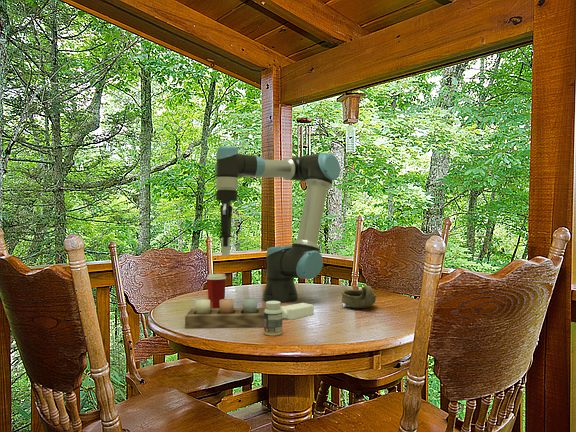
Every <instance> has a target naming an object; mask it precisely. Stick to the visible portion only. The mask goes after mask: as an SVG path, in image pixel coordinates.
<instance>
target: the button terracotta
mask: <svg viewBox="0 0 576 432" xmlns="http://www.w3.org/2000/svg"><path fill="white" fill-rule="evenodd" d="M234 302H235V301H234V299H233V298H225V299H221V300H219V307H220V314H233V313H234V308H235V307H234Z"/></svg>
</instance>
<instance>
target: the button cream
mask: <svg viewBox="0 0 576 432" xmlns="http://www.w3.org/2000/svg"><path fill="white" fill-rule="evenodd" d="M195 309H196V314H210V300H209V299H208V298H202V299H195Z"/></svg>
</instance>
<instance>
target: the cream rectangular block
mask: <svg viewBox="0 0 576 432" xmlns="http://www.w3.org/2000/svg"><path fill="white" fill-rule="evenodd" d="M280 309H281V310H282V319H285V320H290V321H293V320H298V319H302V318H305V317H309V316H313V315H314V314H315V311H314V309H315V308H314V305H313V304H310V303H306V302H300V303H294V304H289V305H288V304H287V305H281V306H280Z"/></svg>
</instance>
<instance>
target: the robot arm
mask: <svg viewBox="0 0 576 432" xmlns="http://www.w3.org/2000/svg"><path fill="white" fill-rule="evenodd" d="M216 150H217V151H216V163H215V165H214V171H215V174H216V179H215V180H214V183H215V184H216V186H215V187H216V188H215V189H217V190H215V200H216V201H218V202H219V201H220V202H221V205H220V208H219V209H220V231H221V233H220V235H219V238H221V257H229V256H230V255H231V253H230V251H231V238H233V235H232V217H233V209H234V208H233V205H232V203H231V202H236V201H237V200H238V190H237V189H238V185H239V183H238V182H239V181H238V180H239V179H238V178H283V179H284V180H286V181H297V182H298V181H299V182H305V183H304V184H306V185H307V188H306V191H305V197H304V203H303V208H302V212H301V217H300V223H299V228H298V233H297V237H296V238H297V239H296V240H295V241H294V242H292V245H282V246H281V245H280V246H272V247H268V248H267V251H266V258H265V259H266V283H265V284H266V285H265V287H264V289H263V294H262V300H264V301H266V302H267V301H279V302H281V303H288V302H294V301H297V300H298V299H299V298H298V297H299V294H298V290H297V287H296V284H295V280H294V278H296V279H297V278H298V279H302V280H310V279H314V278H316V277H317V276H318V275H319V274H320V272H321V271H322V269H323V266H324V260H323V259H324V258H323V256H322V254H321V253H320V246H319V245H318V241H319V235H320V230H321V225H322V219H323V215H324V214H323V213H324V209H325V206H326V205H325V204H326V200H327V199H326V198H327V193H328V190H329V189H330V188H332V187H333V182H334V181H335V180H337V179H338V178H339V176H340V175H341V164H340V162H339V160H338V158H337V156H335V155H334V154H333V153H331V152H320V153H316V154H305V155H302V156H297V157H286V158H284V159H264V158H263V157H261V156H259V155H258V156H257V155H250V154H243V153H239V148H238V147H237V146H235V145H234V146H233V145H222V146H218V148H217V149H216Z"/></svg>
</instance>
